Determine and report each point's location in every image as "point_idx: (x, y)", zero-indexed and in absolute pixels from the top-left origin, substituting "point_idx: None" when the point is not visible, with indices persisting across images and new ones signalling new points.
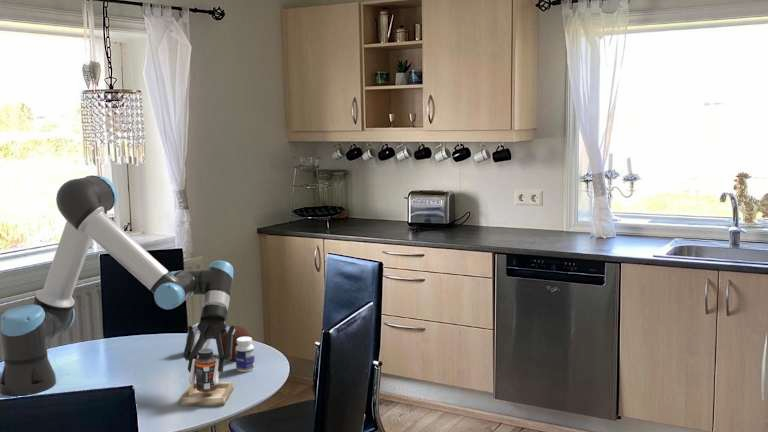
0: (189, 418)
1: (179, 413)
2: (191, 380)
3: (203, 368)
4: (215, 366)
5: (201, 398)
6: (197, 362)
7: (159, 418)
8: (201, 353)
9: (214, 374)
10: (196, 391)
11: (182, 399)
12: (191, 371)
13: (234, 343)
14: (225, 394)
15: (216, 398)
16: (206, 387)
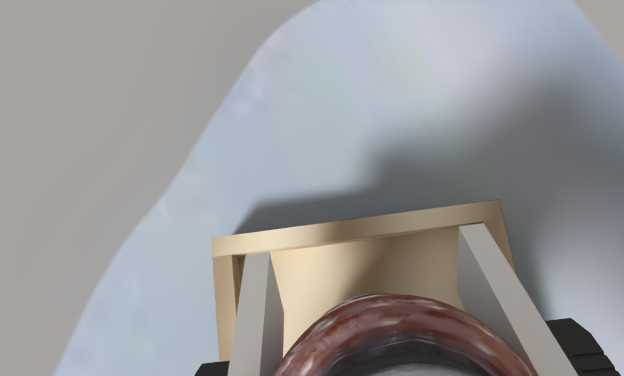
0: (352, 62)
1: (436, 111)
2: (461, 226)
3: (377, 295)
4: (253, 366)
5: (355, 219)
6: (478, 323)
7: (511, 39)
8: (451, 364)
9: (258, 293)
10: None
11: (480, 202)
12: (511, 285)
13: None
14: (217, 301)
15: (257, 233)
16: (351, 298)
